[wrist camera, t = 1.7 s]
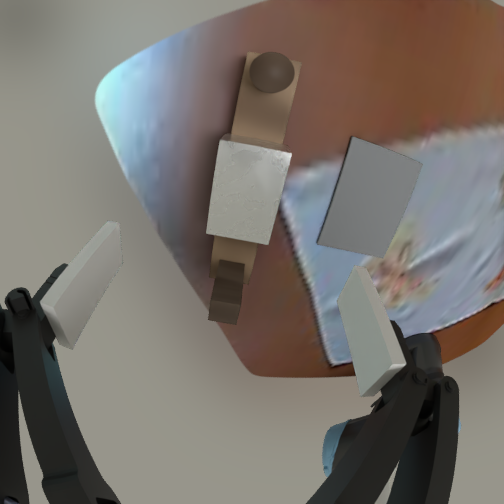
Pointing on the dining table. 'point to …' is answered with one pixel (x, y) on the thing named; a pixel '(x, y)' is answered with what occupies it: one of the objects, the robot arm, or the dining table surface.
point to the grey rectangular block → (247, 188)
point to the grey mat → (369, 199)
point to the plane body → (260, 127)
